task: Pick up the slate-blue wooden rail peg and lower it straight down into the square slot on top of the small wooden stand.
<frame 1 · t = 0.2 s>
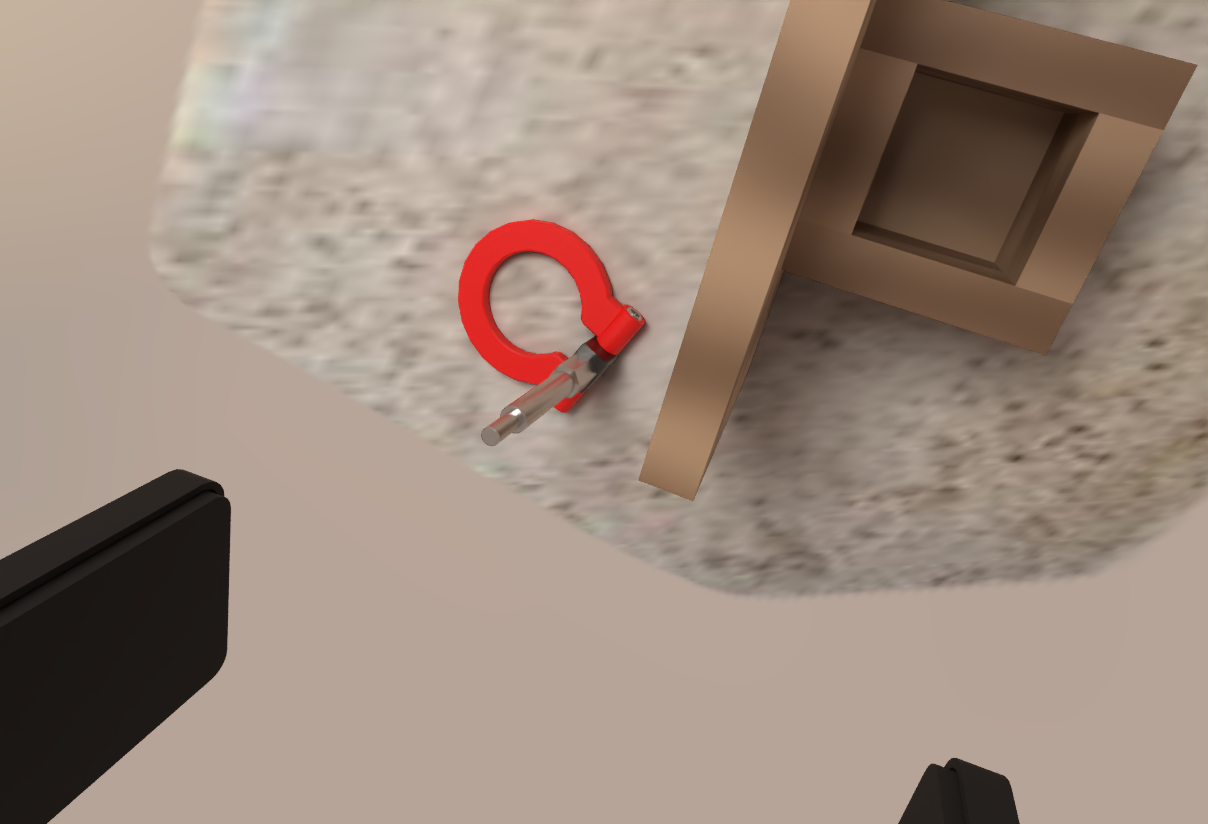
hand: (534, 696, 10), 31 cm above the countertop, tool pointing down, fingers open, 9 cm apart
tow hook: (545, 306, 42), on the countertop
small wooden stand: (947, 165, 34), on the countertop
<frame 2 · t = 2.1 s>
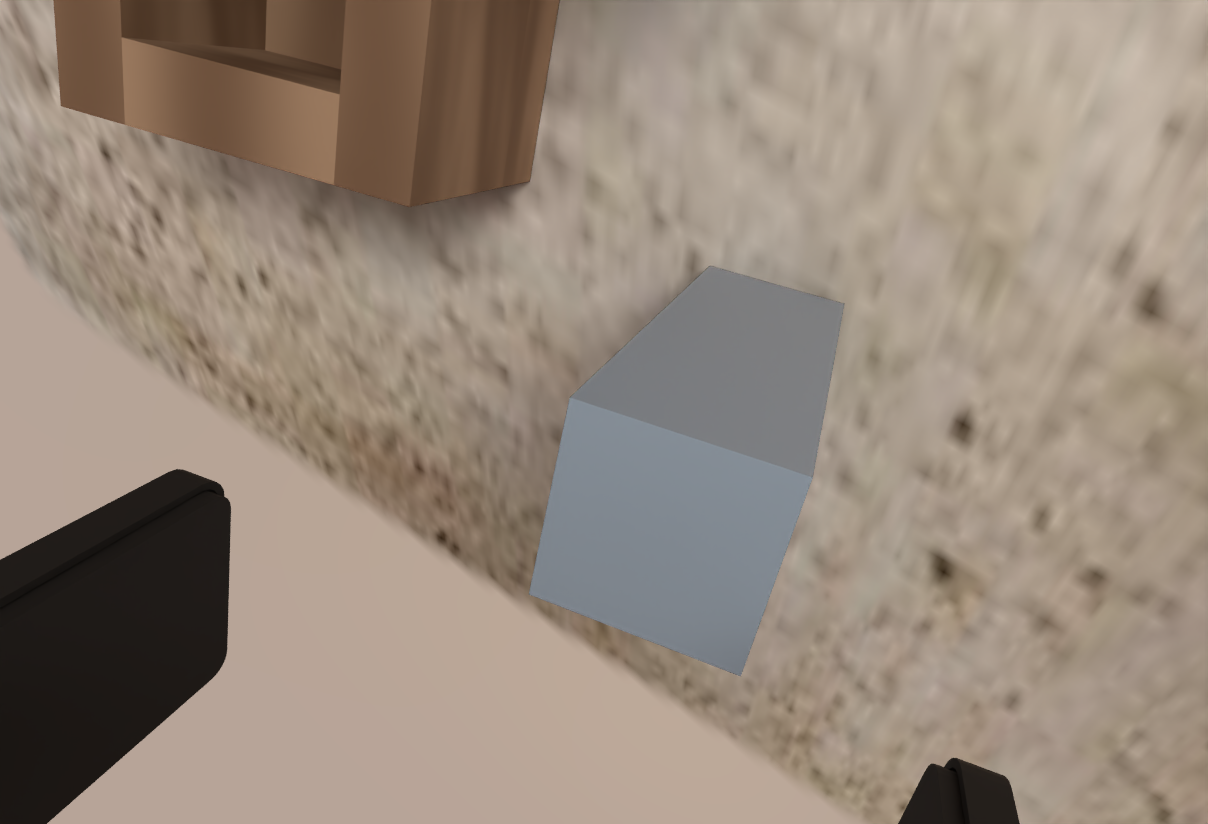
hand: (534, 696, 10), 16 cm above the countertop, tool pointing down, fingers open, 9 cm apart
rail peg: (756, 348, 24), on the countertop
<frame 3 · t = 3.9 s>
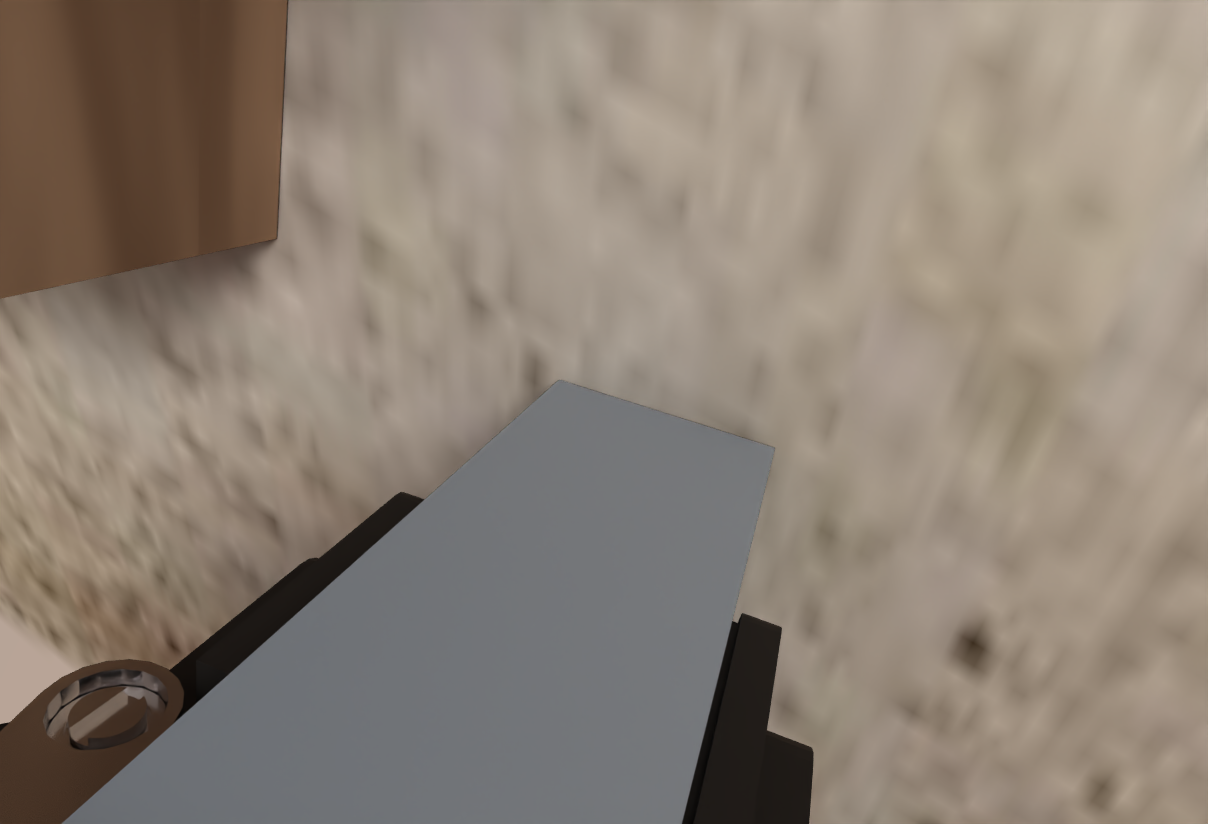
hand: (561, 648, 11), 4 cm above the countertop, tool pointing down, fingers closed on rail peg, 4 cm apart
rail peg: (638, 508, 15), on the countertop, touching gripper
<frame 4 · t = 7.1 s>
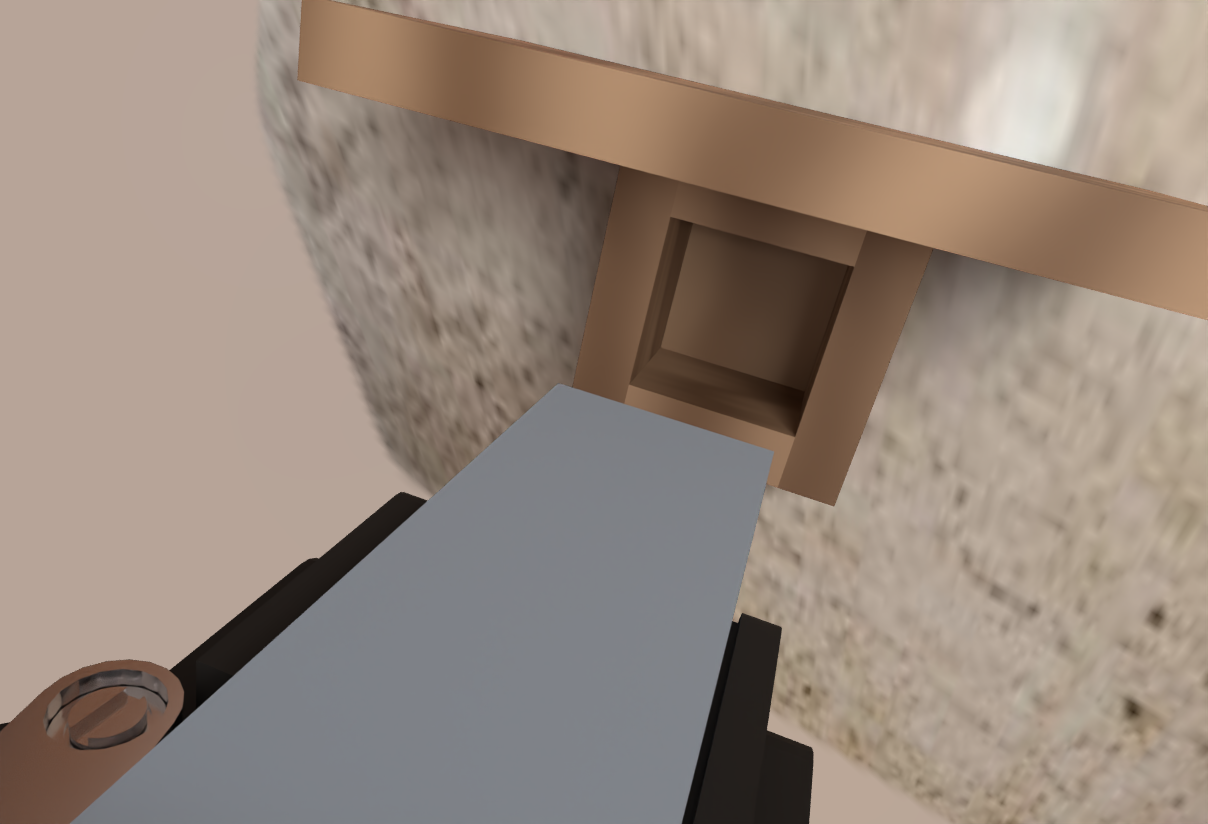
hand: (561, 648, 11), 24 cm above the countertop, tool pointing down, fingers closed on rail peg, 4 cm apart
rail peg: (638, 512, 15), point 20 cm above the countertop, touching gripper
small wooden stand: (758, 288, 33), on the countertop
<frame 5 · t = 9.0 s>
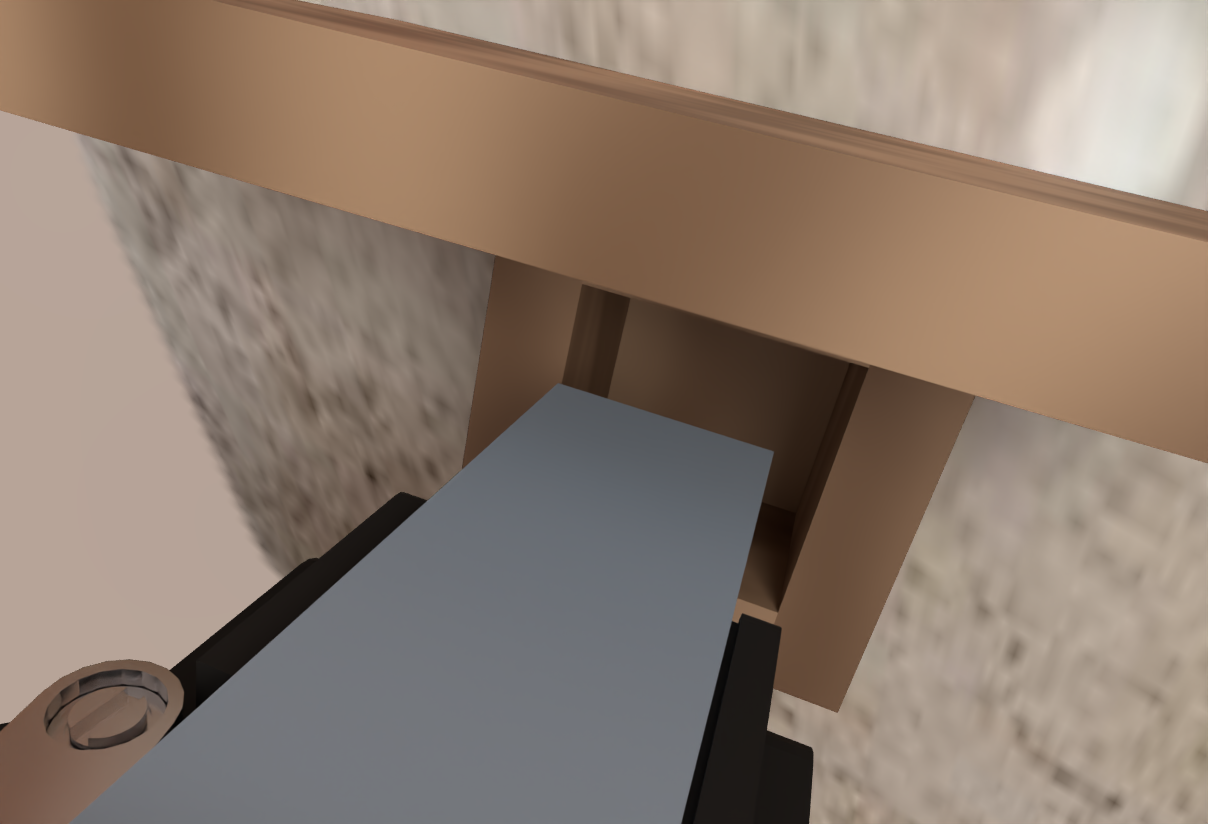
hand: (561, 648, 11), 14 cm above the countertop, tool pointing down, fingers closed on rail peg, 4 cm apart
rail peg: (637, 512, 15), point 10 cm above the countertop, touching gripper
small wooden stand: (732, 363, 24), on the countertop
when the fingers open (8 cm above the countertop, at t = 10.5 s): rail peg drops 2 cm, resting on small wooden stand.
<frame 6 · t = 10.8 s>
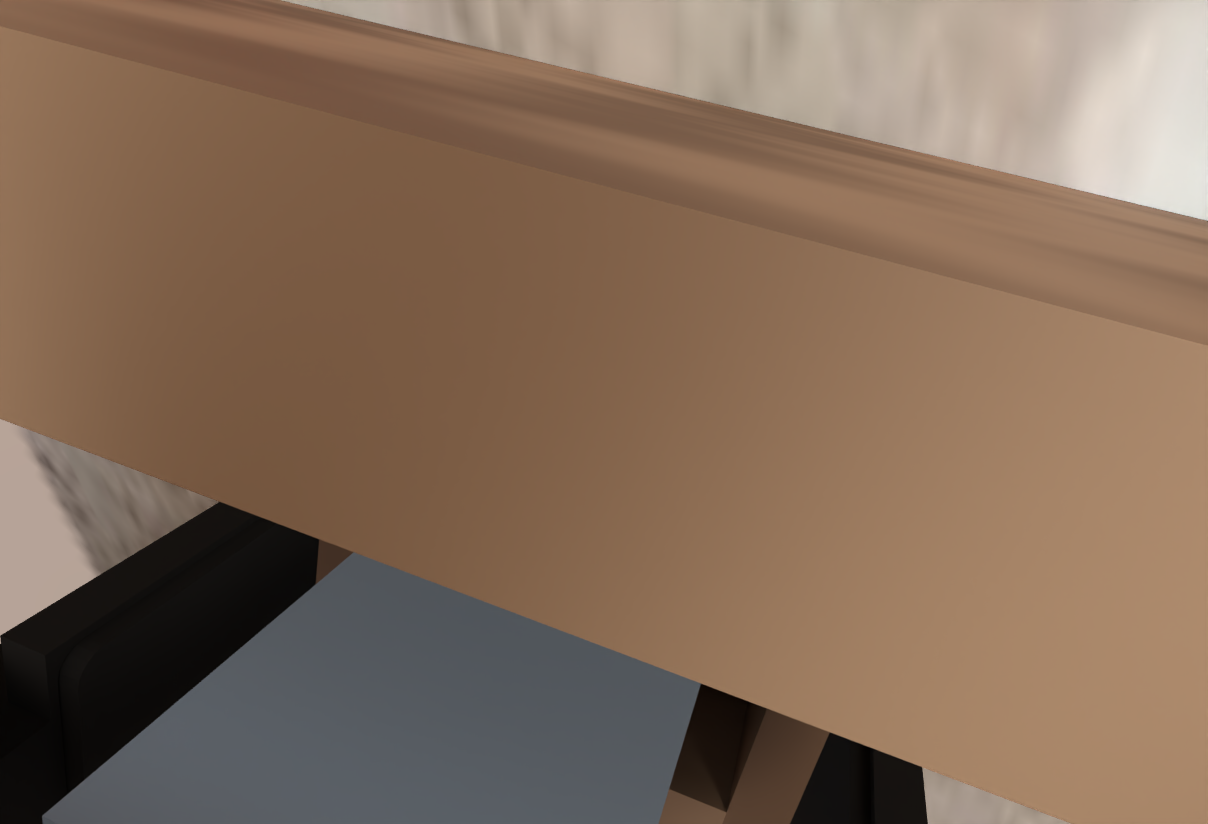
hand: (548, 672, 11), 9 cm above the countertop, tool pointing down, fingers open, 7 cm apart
rail peg: (660, 469, 17), point 2 cm above the countertop, touching small wooden stand
small wooden stand: (680, 432, 19), on the countertop
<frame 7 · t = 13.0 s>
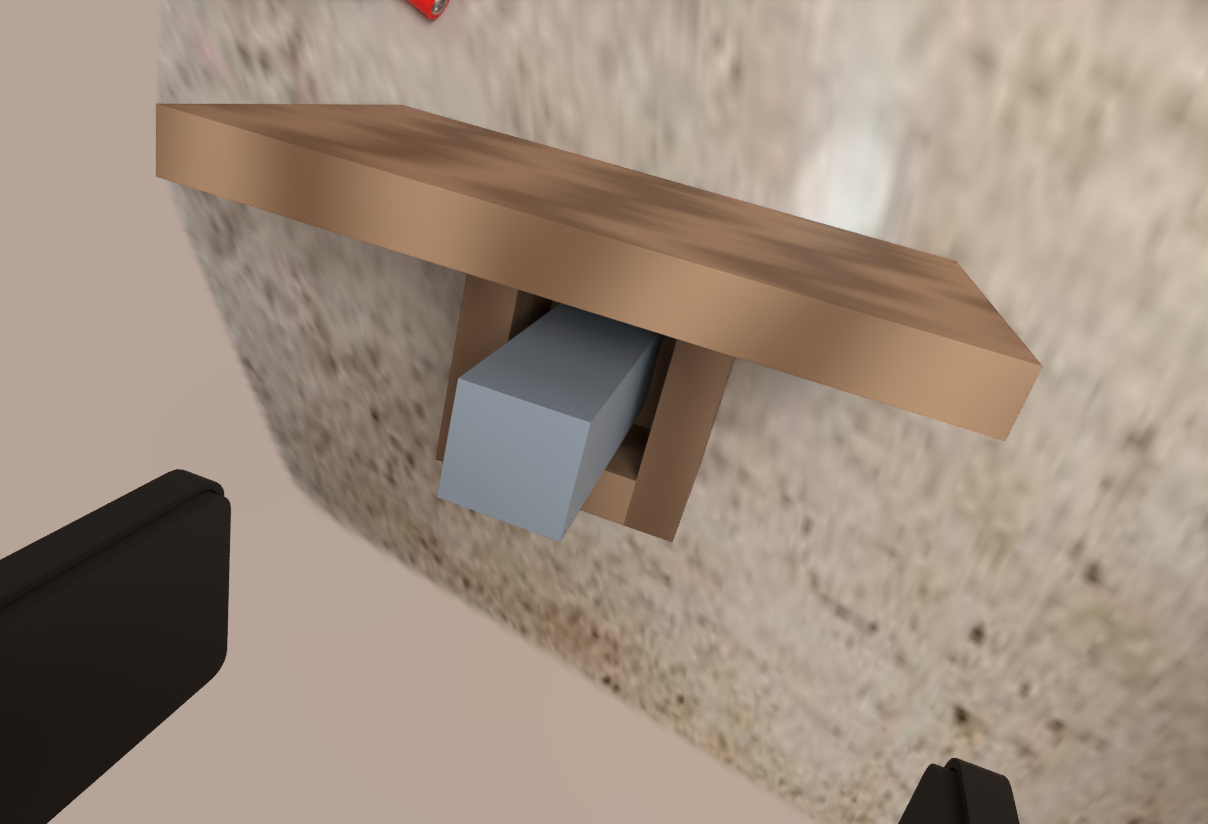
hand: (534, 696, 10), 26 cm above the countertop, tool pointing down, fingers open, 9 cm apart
rail peg: (611, 348, 34), point 2 cm above the countertop, touching small wooden stand
small wooden stand: (623, 336, 36), on the countertop
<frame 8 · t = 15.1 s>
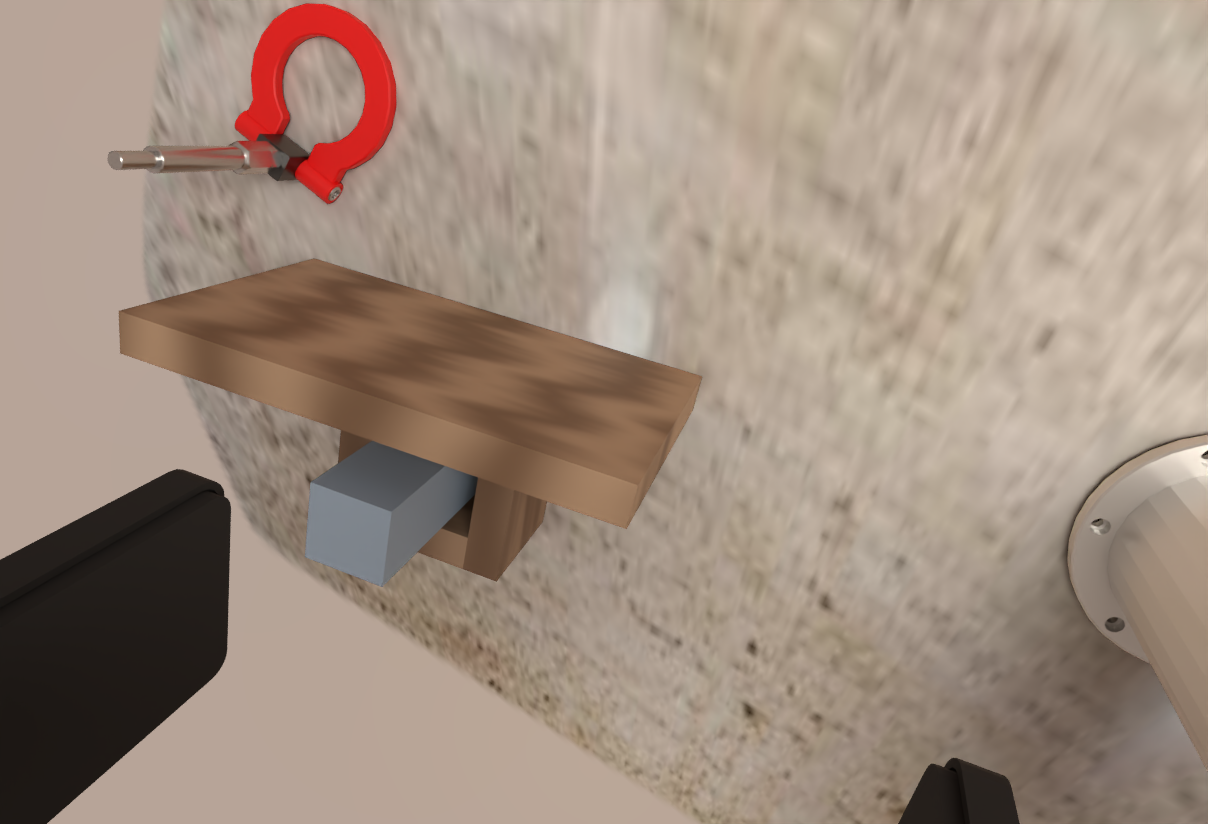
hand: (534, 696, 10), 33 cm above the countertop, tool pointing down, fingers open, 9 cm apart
tow hook: (327, 97, 44), on the countertop
rail peg: (465, 437, 46), point 2 cm above the countertop, touching small wooden stand
small wooden stand: (480, 424, 48), on the countertop
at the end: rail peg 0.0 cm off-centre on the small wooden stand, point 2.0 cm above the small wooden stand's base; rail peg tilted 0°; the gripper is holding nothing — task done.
